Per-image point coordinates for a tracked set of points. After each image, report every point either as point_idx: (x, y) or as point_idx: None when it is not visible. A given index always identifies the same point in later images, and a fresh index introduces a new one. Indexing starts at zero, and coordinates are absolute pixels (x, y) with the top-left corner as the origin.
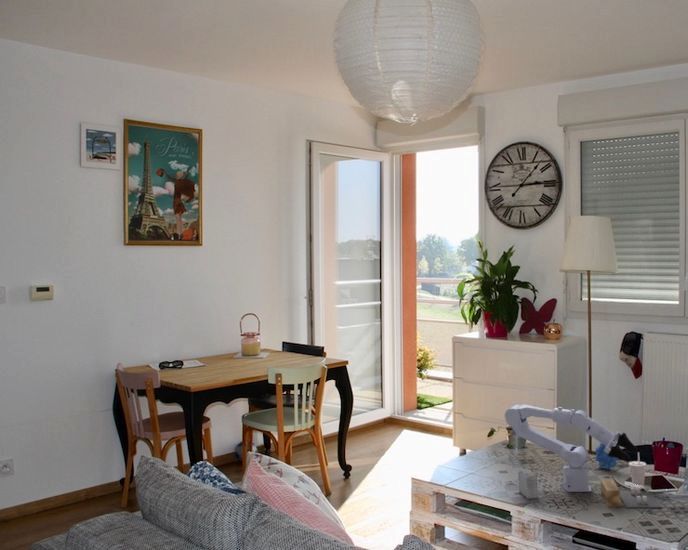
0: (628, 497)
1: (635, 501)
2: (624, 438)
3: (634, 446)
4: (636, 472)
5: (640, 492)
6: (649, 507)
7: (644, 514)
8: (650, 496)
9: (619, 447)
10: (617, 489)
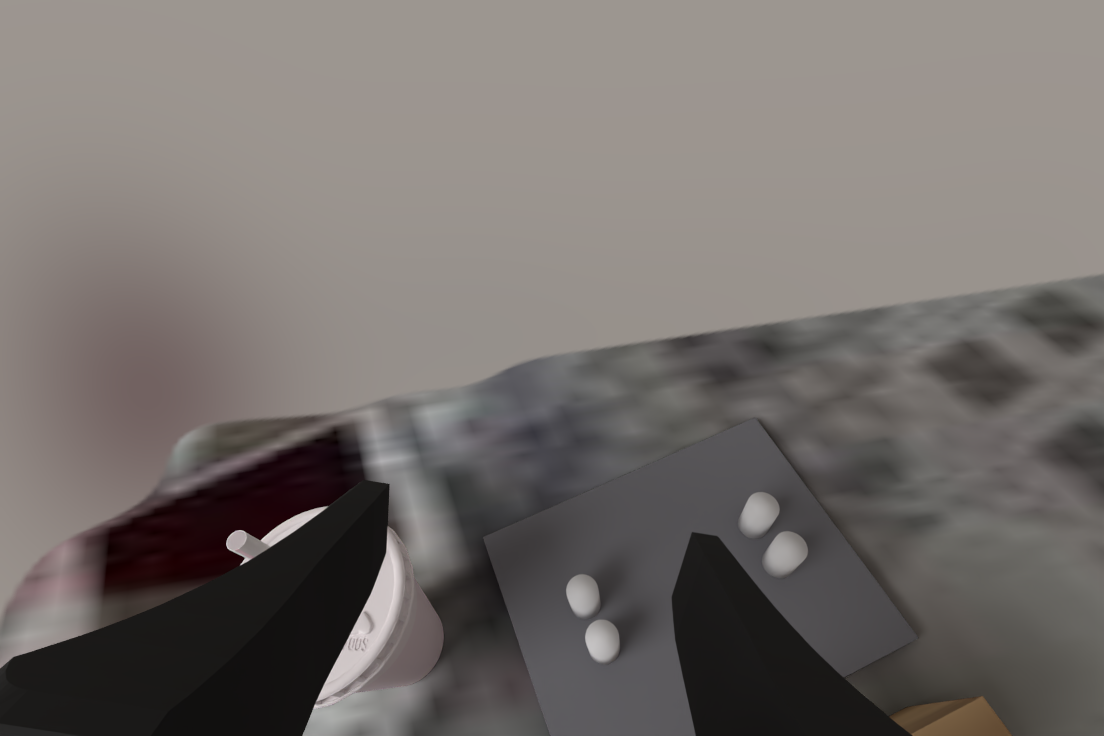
0: None
1: None
2: (235, 680)
3: (360, 501)
4: (414, 610)
5: (528, 598)
6: (803, 486)
7: (944, 496)
8: (588, 515)
9: (825, 729)
10: (965, 729)
